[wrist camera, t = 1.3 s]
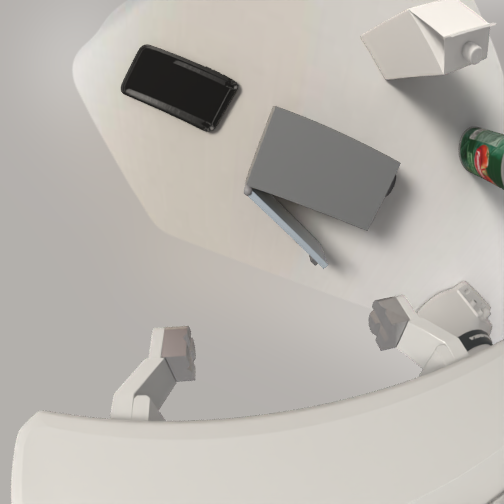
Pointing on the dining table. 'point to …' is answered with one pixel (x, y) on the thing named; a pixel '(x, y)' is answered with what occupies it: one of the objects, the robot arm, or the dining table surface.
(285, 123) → the box
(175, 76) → the phone
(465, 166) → the canned tomato
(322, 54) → the dining table surface
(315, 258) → the side door
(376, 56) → the milk carton
